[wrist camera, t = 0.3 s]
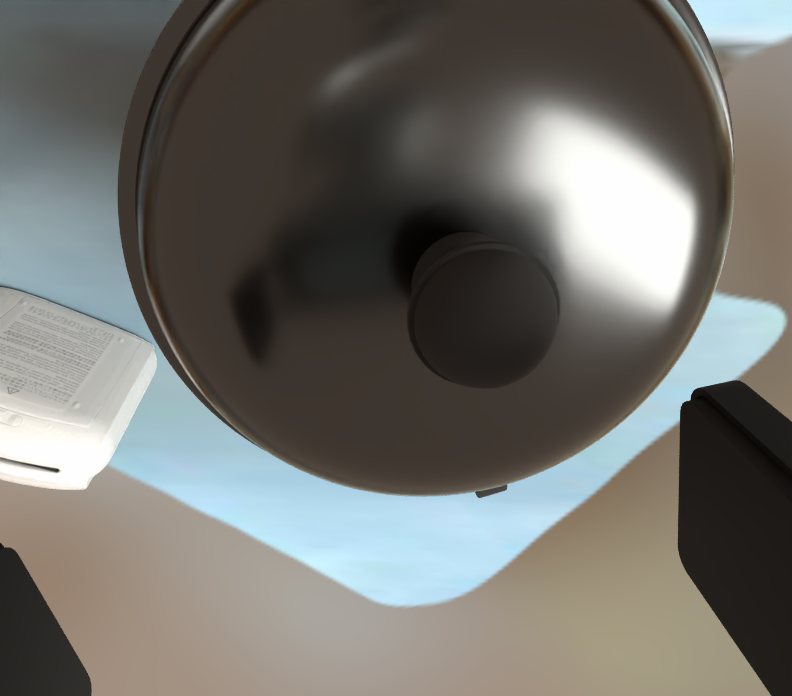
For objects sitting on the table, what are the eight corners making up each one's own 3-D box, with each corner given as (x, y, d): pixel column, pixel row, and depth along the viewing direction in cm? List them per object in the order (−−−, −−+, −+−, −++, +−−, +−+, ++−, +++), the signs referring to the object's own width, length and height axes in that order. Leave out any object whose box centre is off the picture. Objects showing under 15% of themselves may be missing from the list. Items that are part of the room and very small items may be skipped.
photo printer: (-27, 336, 39) (-164, 455, 28) (-9, 273, 37) (-146, 374, 26) (145, 396, 42) (83, 526, 31) (167, 340, 40) (111, 456, 29)
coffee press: (167, 173, 36) (-272, 576, 9) (314, -115, 31) (300, -1047, 4) (422, 321, 42) (616, 843, 15) (582, 97, 37) (1306, 264, 10)
